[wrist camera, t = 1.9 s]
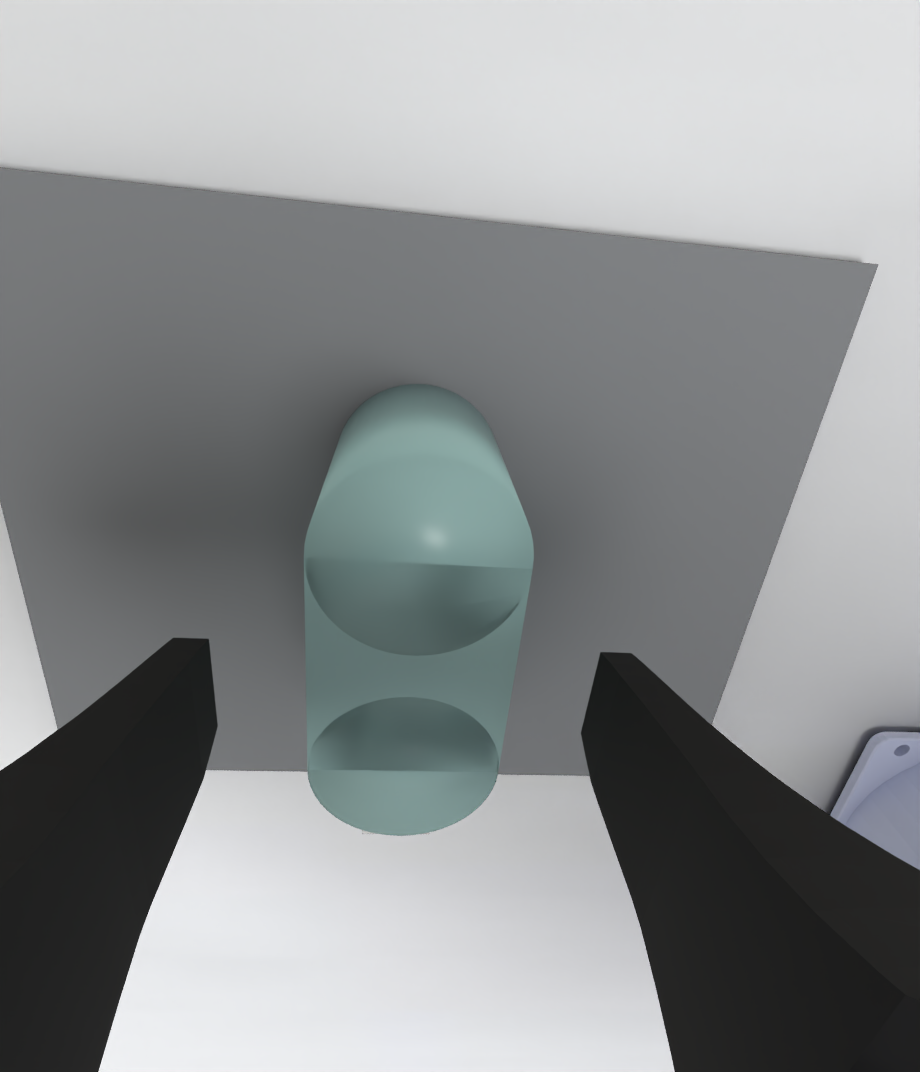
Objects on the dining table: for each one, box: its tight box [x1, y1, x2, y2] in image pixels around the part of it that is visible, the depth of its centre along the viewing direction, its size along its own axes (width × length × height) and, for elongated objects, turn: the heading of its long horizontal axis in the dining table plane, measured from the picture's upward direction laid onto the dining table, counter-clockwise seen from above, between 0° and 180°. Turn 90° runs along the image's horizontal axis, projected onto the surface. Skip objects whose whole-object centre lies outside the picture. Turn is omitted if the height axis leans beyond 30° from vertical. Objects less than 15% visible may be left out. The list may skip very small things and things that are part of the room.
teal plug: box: [304, 384, 534, 836], centre depth 15 cm, size 11×4×5 cm, turn 175°
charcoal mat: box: [0, 168, 878, 776], centre depth 17 cm, size 20×16×1 cm
